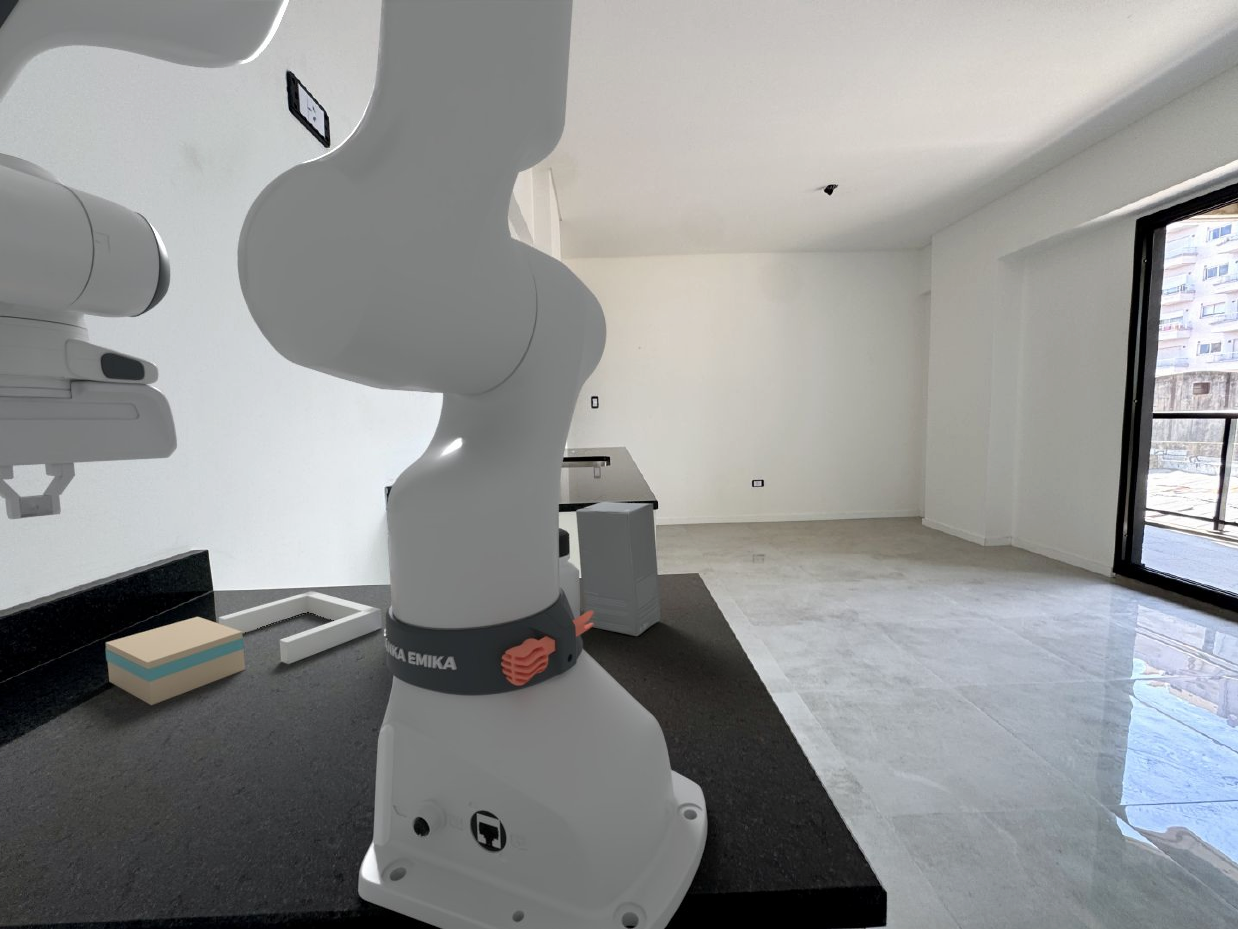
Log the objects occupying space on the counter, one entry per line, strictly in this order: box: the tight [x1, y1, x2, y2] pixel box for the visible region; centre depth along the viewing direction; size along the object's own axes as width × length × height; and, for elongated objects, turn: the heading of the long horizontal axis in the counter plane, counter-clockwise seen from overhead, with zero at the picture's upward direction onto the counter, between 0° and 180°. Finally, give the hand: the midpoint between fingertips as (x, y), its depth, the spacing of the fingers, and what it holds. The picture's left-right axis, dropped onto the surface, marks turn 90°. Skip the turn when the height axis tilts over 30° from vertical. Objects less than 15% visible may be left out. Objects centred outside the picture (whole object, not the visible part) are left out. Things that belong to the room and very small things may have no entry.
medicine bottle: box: [559, 527, 581, 619], centre depth 69 cm, size 7×7×12 cm
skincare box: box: [575, 501, 662, 637], centre depth 66 cm, size 8×7×16 cm
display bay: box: [218, 590, 382, 665], centre depth 66 cm, size 16×12×2 cm
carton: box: [105, 616, 246, 706], centre depth 54 cm, size 10×8×4 cm
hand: (34, 516), depth 45 cm, fingers closed
